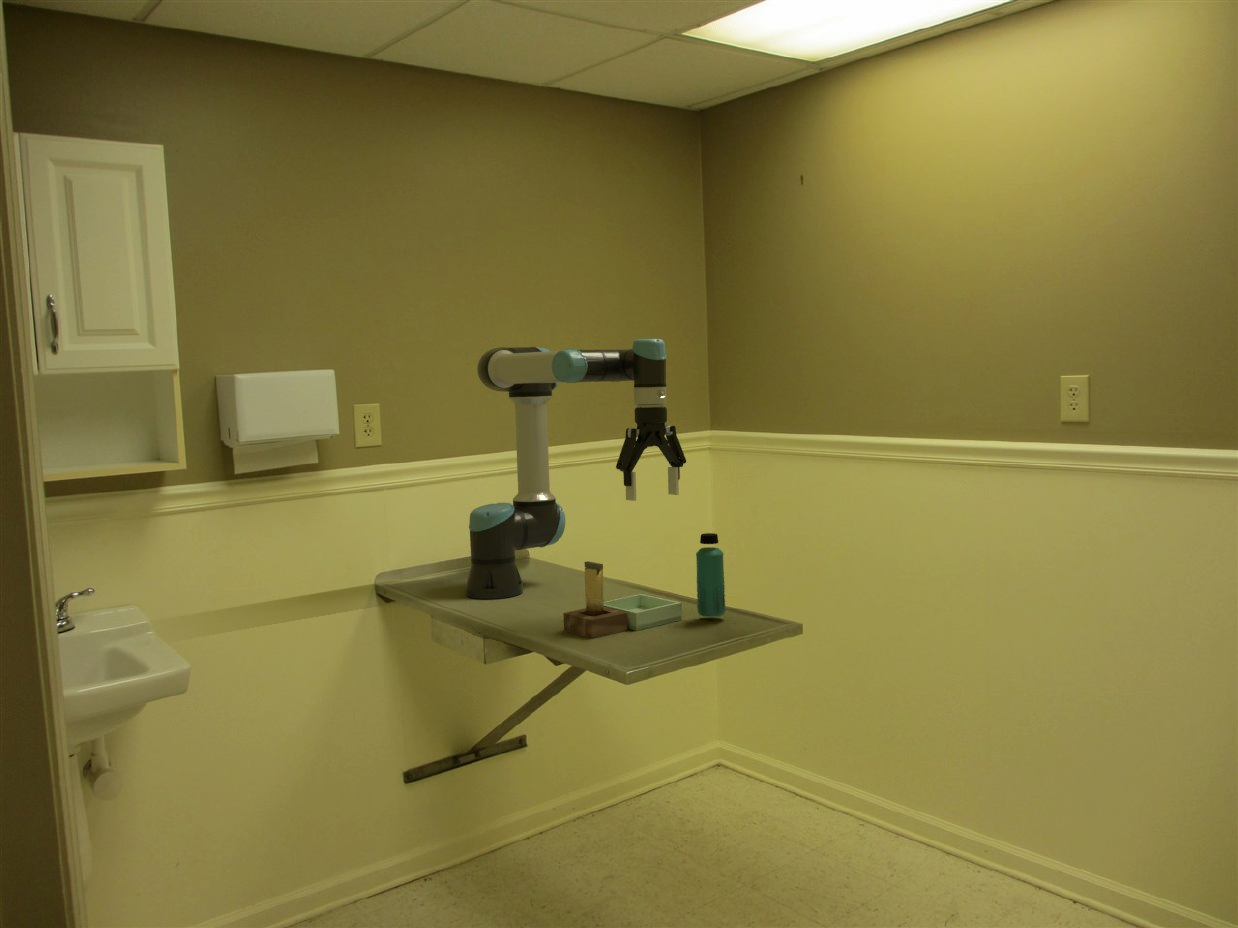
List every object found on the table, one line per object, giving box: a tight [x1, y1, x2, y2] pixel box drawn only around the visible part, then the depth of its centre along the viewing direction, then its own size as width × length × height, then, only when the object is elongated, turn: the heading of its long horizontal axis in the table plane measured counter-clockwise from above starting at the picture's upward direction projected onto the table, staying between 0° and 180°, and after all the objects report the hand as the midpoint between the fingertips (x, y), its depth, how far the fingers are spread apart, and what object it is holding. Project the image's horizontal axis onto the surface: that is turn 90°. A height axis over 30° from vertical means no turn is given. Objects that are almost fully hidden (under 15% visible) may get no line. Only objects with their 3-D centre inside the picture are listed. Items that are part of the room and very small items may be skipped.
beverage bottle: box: [695, 532, 727, 618], centre depth 228 cm, size 6×7×20 cm
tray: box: [604, 593, 683, 632], centre depth 230 cm, size 14×14×4 cm
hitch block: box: [563, 607, 628, 639], centre depth 222 cm, size 10×10×4 cm
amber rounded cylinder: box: [584, 561, 605, 617], centre depth 221 cm, size 5×4×15 cm
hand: (652, 497), depth 232 cm, fingers open, 13 cm apart
